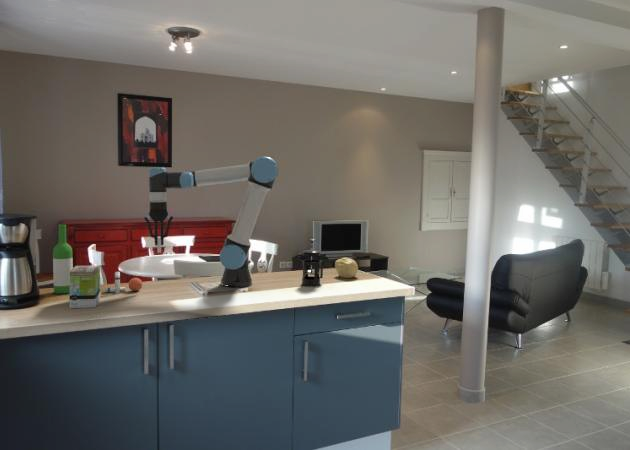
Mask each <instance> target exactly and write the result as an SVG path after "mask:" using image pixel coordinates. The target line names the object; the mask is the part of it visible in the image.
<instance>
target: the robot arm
mask: <svg viewBox="0 0 630 450" xmlns="http://www.w3.org/2000/svg"><path fill="white" fill-rule="evenodd" d="M278 175H279V165H278V163H277V162H276V160H275V159H274V158H272V157H270V156H263V155H262V156H259V157H257V158H256V159H255V160H253V161H249V162H248V163H246V164H240V165H233V166H231V165H230V166H223V167H217V168H209V169H201V170H194V171H193V170H192V171H191V170H190V171H167V168H166V167H150V168H149V172H148V184H149V201H150V202H149V212H148V214H147V215H146V216H144V217H143V219H144V220H145V222H146V225H147V228H148V232H149V236H150V238H153V239H154V245H155V246H156V248H157V249H156V250H157V253H158V254H159V253H160V254H162V246H164V241H165V240H164V239H165V238H167V237H168V235H169V230H170V227H171V222H172V220H173V219H174V217H173V216H172V215H170V214H169V212H168V202H167V200H168V198H167V197H168V195H167V194H168V193H167V189H181V190H183V189H184V190H186V189H187V190H188V189H192V188H195V187H203V186H210V185H218V184H219V185H221V184H227V183H228V184H229V183H236V182H244V181H247V183H248V188H247V191H246V194H245V196H244V199H243V201H242V204H241V208H240V209H239V213H238V215H237V218H236V221H235V224H234V227H233V229H232V232H231V234H228V235H227V237H226V238H225V240H224V244H223V246H222V249H221V250H220V252H219V261H220V263H221V265H222V266H224V270H223V274H222V276H221V279H220V285H221V284H223V285H228V286H240V287H239V288H245V287H246V288H247V287H250V286H252V285H253V279H252V276H251V272H250V268H249V266H250V265H249V263H250V262H249V261H250V249H251V246H252V244H251V241H250V239H251V236H252V233H253V231H254V228H255V225H256V223H257V220H258V217H259V215H260V212H261V209H262V206H263V204H264V201H265V198H266V196H267V193H268V192H269V191H271V190H272V189H273V186H274V184H275V181H276V178H277V176H278ZM150 218H151V220H152V221H153V222H154V223H153V226H154V230H153V229H152V226H151V223H150ZM166 218H167V222H166V227H165V231H164V222H165V220H166ZM158 222H159V225H160V226H159V228H160V231H158ZM153 231H154V233H153ZM158 232H160V237H159V235H158Z"/></svg>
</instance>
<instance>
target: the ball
mask: <svg viewBox="0 0 630 450" xmlns="http://www.w3.org/2000/svg"><path fill="white" fill-rule="evenodd" d="M142 288H143V281H142V280H141V279H140V278H139V277H133V278H131V279H130V280H129V282H128V289H130V291H133V292H138V291H140V290H141V289H142Z"/></svg>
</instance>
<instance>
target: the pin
mask: <svg viewBox="0 0 630 450" xmlns="http://www.w3.org/2000/svg"><path fill="white" fill-rule="evenodd" d="M114 287H115V292H114V294H115V295H118V294H120V293H121V292H120V287H121V273H120V274H115V273H114Z"/></svg>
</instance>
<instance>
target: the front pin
mask: <svg viewBox="0 0 630 450" xmlns="http://www.w3.org/2000/svg"><path fill="white" fill-rule="evenodd" d="M122 292H126V286H120V293H122ZM104 293H115V286H114V287H104Z"/></svg>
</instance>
